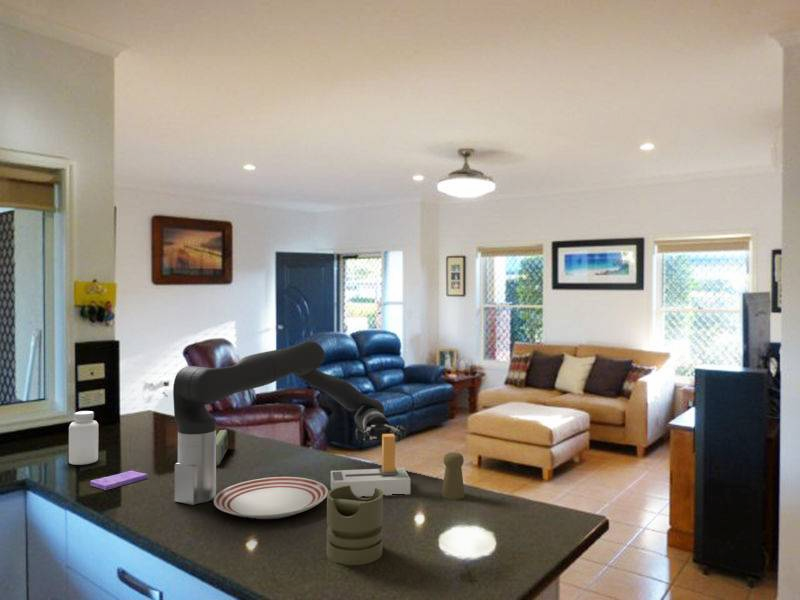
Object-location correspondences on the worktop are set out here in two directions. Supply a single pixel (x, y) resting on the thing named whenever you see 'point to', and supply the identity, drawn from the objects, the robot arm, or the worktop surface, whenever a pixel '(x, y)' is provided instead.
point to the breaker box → (371, 481)
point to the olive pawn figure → (453, 477)
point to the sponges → (118, 480)
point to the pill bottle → (83, 439)
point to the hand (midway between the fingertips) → (383, 438)
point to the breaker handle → (388, 455)
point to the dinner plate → (271, 497)
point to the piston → (354, 526)
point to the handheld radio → (221, 445)
